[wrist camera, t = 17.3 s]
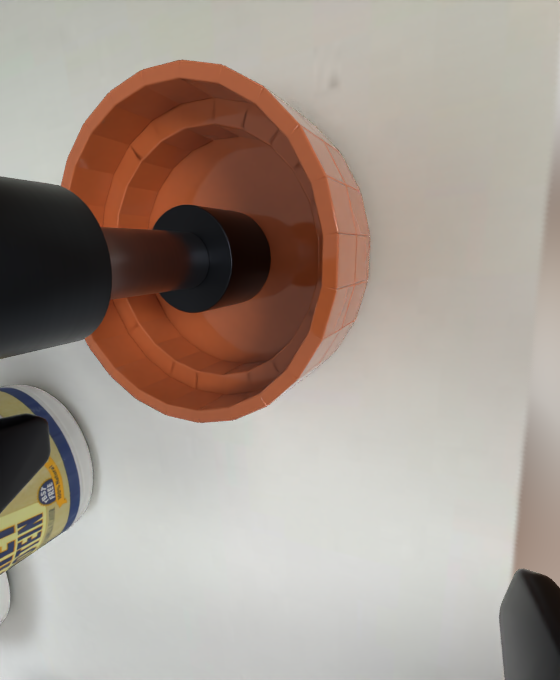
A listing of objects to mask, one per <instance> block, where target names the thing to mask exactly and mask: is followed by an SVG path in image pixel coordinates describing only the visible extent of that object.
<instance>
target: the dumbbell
mask: <svg viewBox="0 0 560 680" xmlns="http://www.w3.org/2000/svg"><path fill="white" fill-rule="evenodd" d="M270 263H271V256H270V248H269V244H268V241H267V238H266V236H265V234H264V232H263V231H262V229H261V228H260V226H259V225H258V224H257V223H256V222H255V221H254V220H253V219H252V218H250V217H249V216H247V215H245V214H243V213H240V212H236V211H230V210H223V209H216V208H209V207H203V206H196V205H178V206H175V207H173V208H171V209H169V210H167V211H166V212H165V213H164V214H162V215H161V217H160V218H159V219H158V220H157V221H156V223H155V225H154V226H153V228H152V230H147V229H128V228H110V227H100V225H99V223H98V221H97V219H96V218H95V216H94V214H93V213H92V212H91V210H90V209H89V207H88V206H87V205H86V204H85V203H84V202H83V201H82V200H81V199H80V198H79V197H78V196H77V195H75V194H74V193H73V192H71V191H70V190H68V189H66V188H64V187H61V186H59V185H54V184H47V183H41V182H34V181H27V180H20V179H14V178H7V177H0V359H3V358H7V357H11V356H16V355H20V354H24V353H28V352H33V351H37V350H41V349H45V348H50V347H54V346H58V345H63V344H67V343H71V342H75V341H79V340H82V339H84V338H86V337H88V336H89V335H91V334H92V333H93V332H94V331H95V330H96V329H97V328H98V327H99V325H100V324H101V322H102V321H103V319H104V317H105V315H106V312H107V309H108V307H109V302H110V300H112V299H119V298H126V297H133V296H140V295H147V294H154V293H159V294H160V295H161V297H162V298H163V299H164V300H165V301H166V302H167V303H168V304H170V305H171V306H173V307H174V308H176V309H178V310H180V311H183V312H188V313H199V312H204V311H208V310H212V309H217V308H221V307H225V306H229V305H234V304H238V303H242V302H245V301H247V300H249V299H251V298H253V297H254V296H255V295H256V294H257V293H258V292H259V291H260V290H261V289H262V287H263V286H264V284H265V282H266V280H267V277H268V274H269V270H270Z"/></svg>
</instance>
